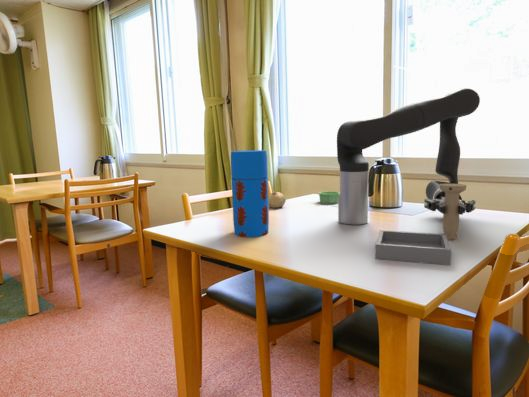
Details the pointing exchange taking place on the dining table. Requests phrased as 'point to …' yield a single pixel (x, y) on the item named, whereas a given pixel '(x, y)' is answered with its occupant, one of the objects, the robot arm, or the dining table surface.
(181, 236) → the dining table surface
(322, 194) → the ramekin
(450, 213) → the handle
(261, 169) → the thermos
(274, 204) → the onion
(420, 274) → the dining table surface
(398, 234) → the tray
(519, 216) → the dining table surface
